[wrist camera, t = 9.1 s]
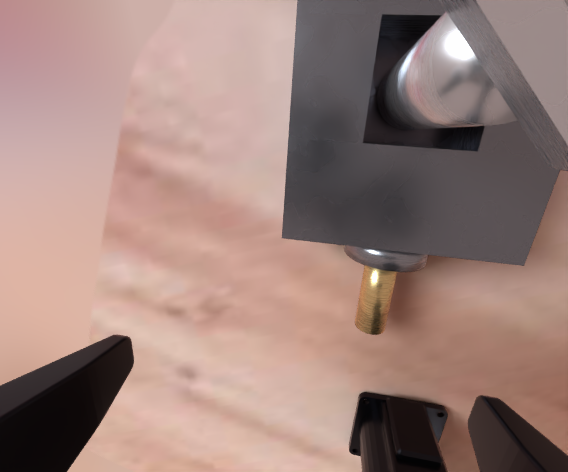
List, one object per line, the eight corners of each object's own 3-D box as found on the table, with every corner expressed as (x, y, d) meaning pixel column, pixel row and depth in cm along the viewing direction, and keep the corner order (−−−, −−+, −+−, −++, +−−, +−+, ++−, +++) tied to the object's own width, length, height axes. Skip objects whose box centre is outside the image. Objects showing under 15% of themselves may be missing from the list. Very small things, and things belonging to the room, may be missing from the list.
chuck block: (447, 314, 20) (484, 370, 15) (287, 292, 21) (275, 337, 16) (562, -66, 13) (691, -178, 8) (315, -63, 14) (308, -158, 10)
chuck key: (476, 120, 14) (704, 99, 6) (418, 165, 15) (536, 204, 7) (403, 14, 13) (545, -207, 5) (346, 69, 14) (376, -30, 6)
